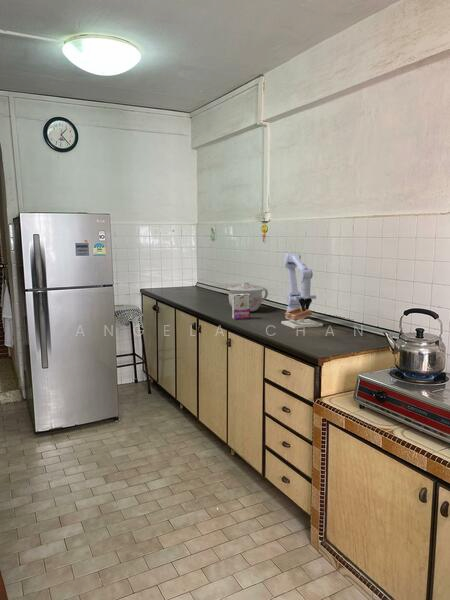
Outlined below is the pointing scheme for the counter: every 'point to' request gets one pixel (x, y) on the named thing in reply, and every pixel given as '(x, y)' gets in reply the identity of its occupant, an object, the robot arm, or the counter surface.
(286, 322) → the hook board
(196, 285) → the counter surface
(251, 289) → the chamber pot
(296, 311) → the loop
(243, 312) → the candy bar box
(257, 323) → the counter surface
